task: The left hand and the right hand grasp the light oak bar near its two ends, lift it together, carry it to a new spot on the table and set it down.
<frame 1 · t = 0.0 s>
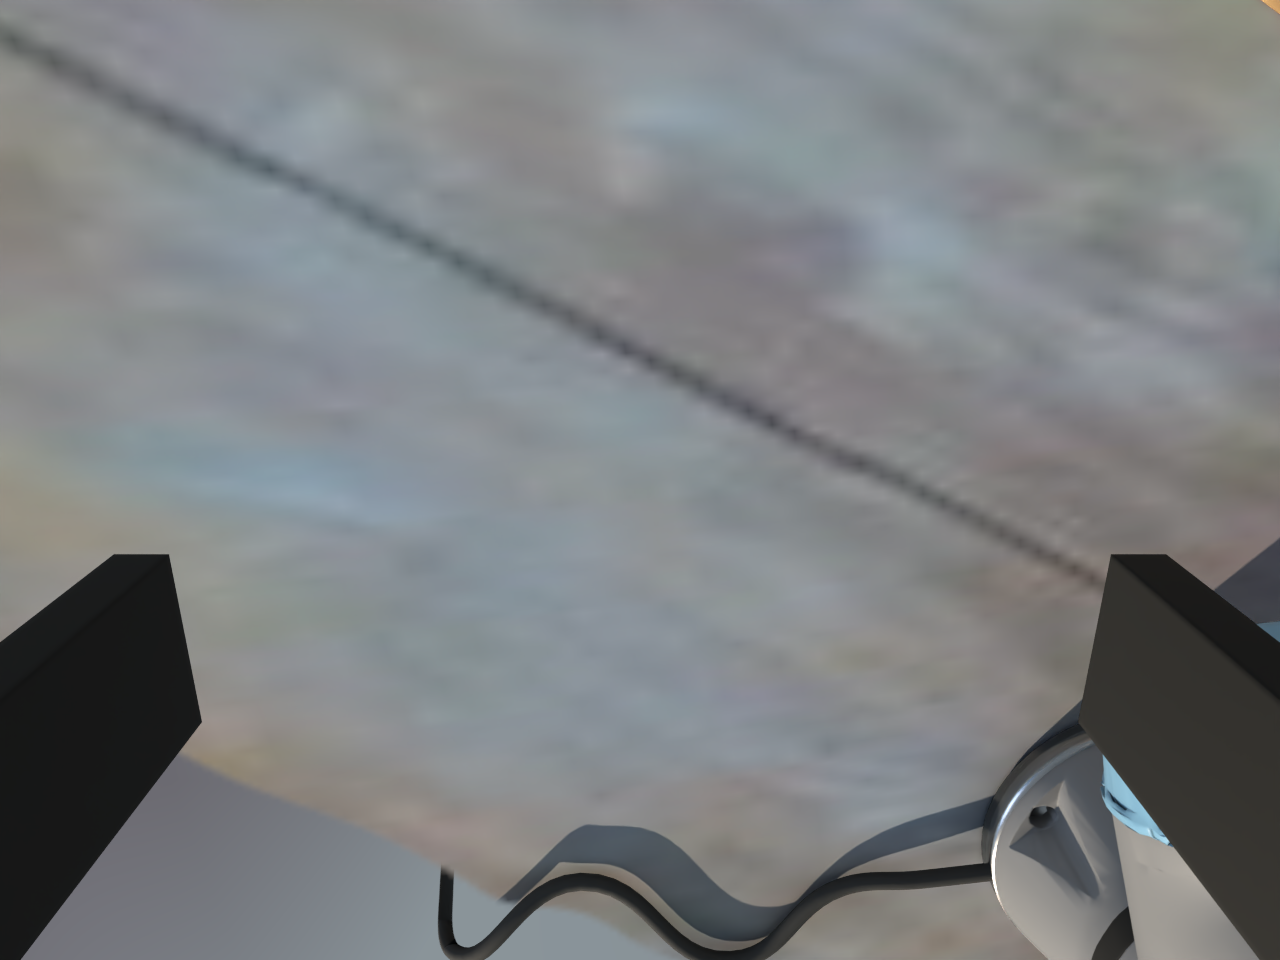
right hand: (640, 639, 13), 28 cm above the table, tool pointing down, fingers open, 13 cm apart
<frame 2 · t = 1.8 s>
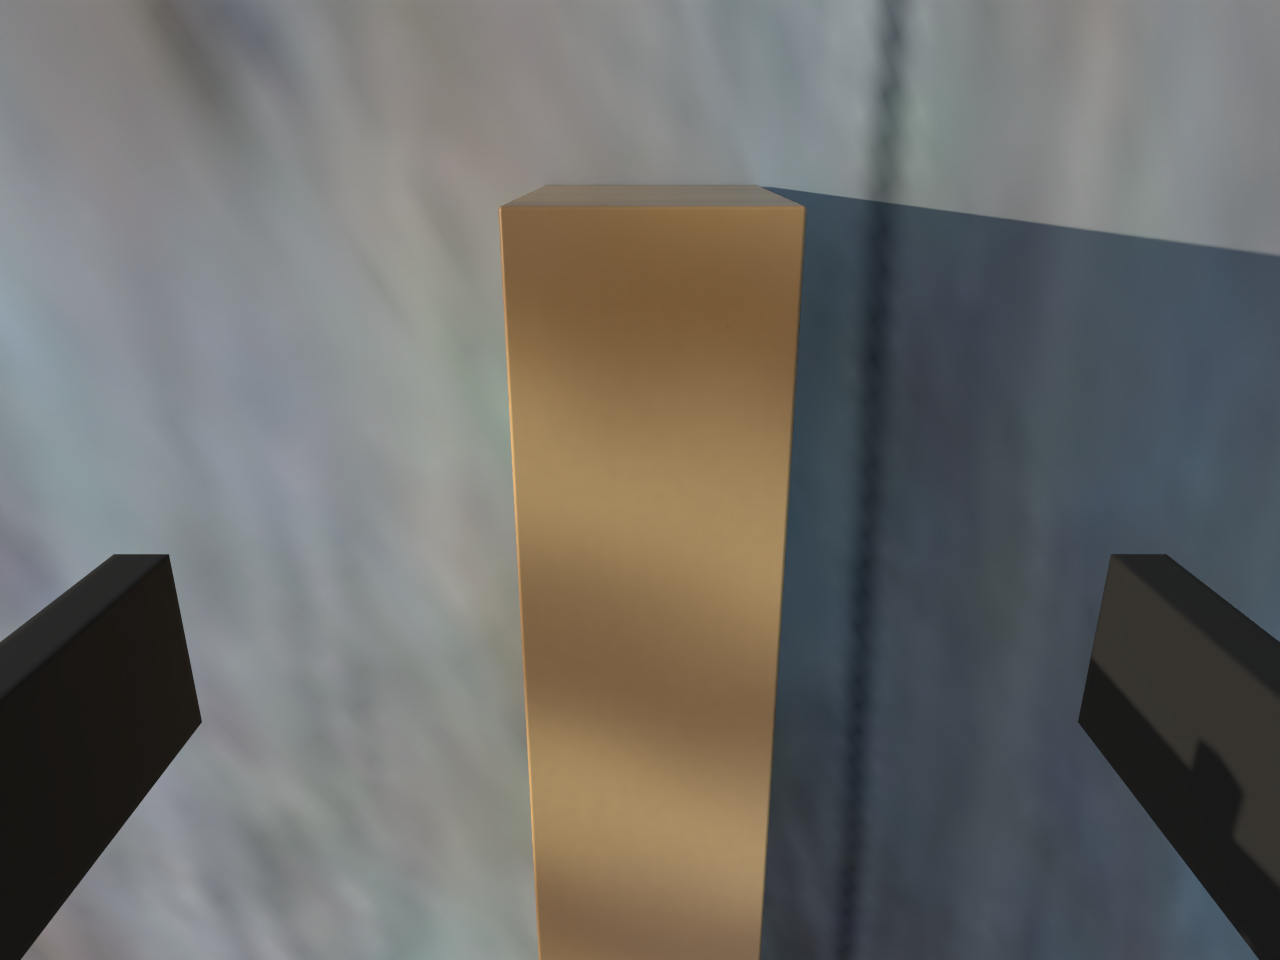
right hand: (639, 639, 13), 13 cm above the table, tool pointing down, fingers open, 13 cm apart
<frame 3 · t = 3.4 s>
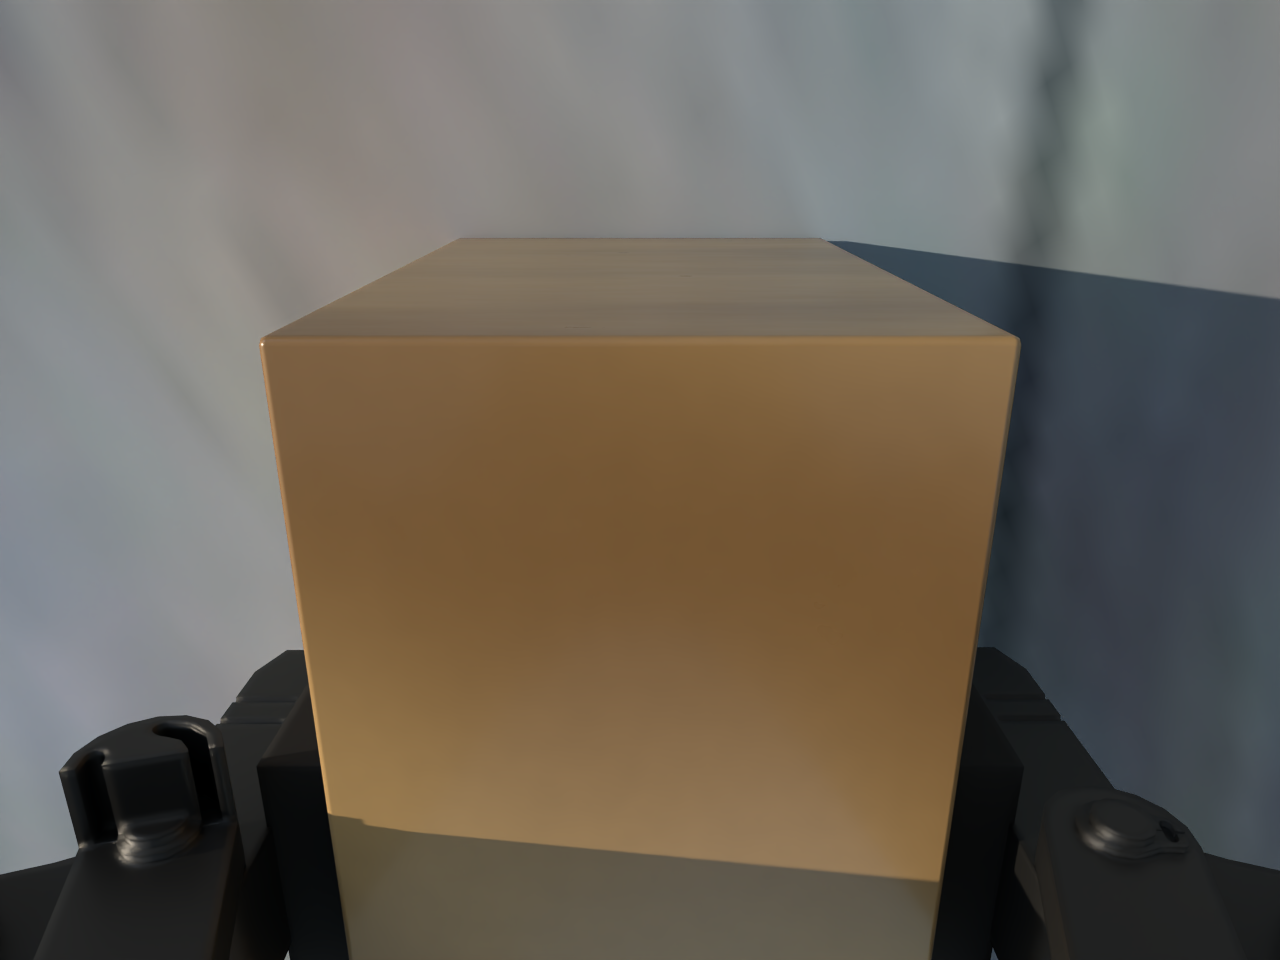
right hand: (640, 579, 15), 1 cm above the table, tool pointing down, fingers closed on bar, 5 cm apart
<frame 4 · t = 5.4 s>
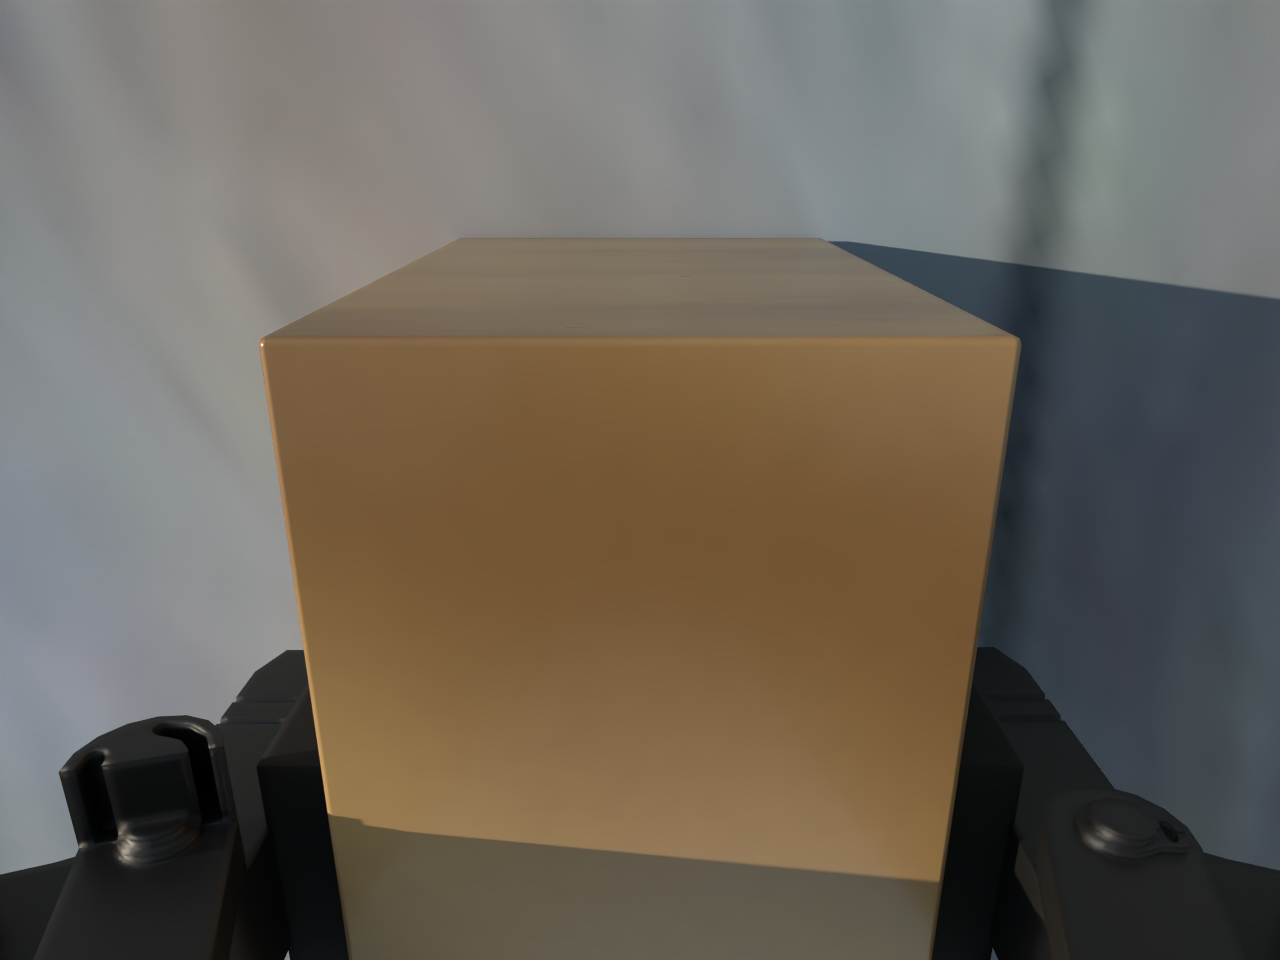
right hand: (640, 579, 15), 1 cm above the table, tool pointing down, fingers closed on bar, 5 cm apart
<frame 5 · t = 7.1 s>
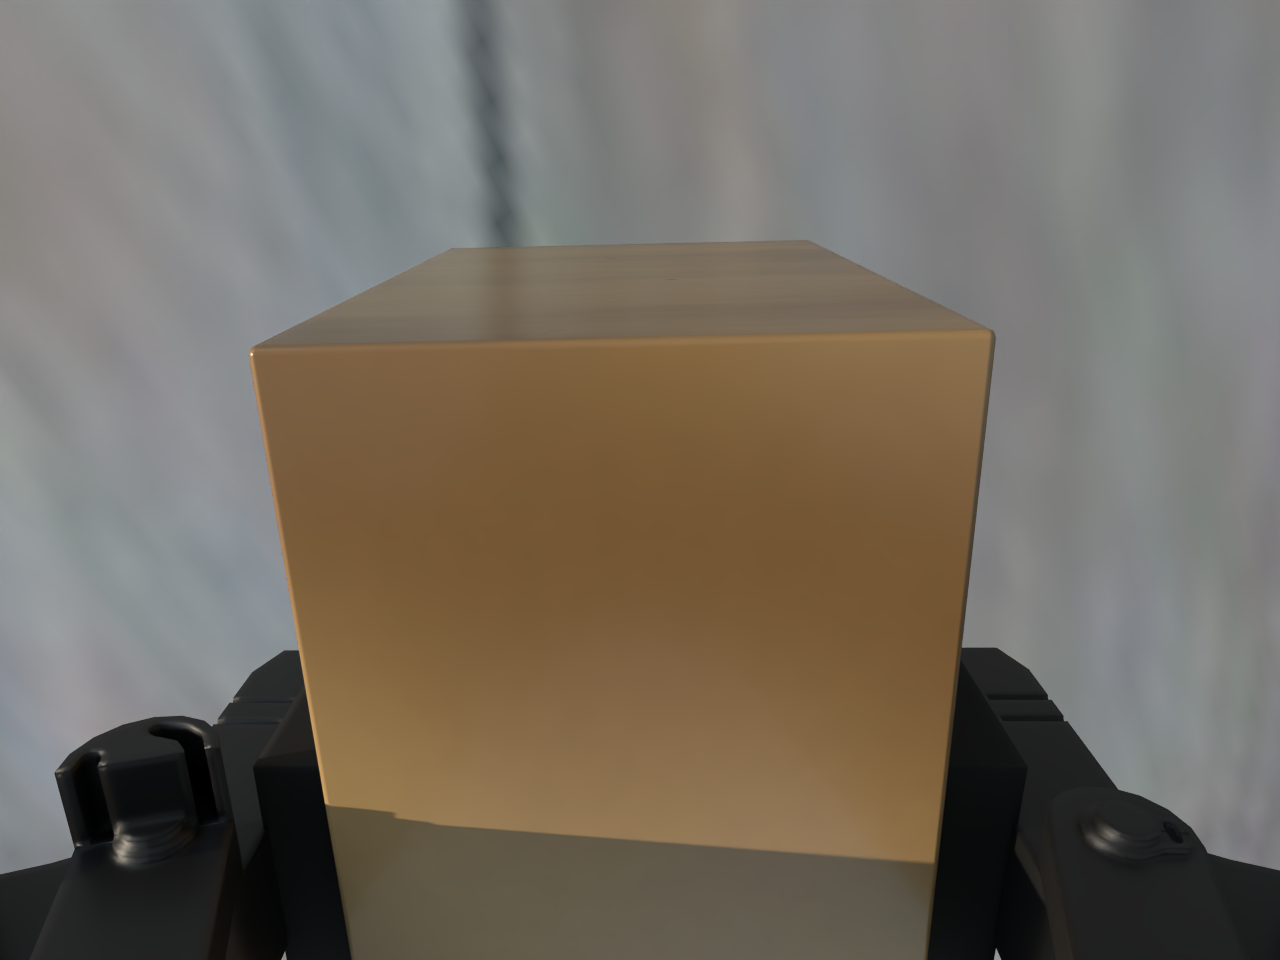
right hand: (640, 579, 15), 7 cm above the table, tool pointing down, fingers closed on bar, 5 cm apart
when the left hand's fingers open (2 cm above the table, at t = 9.0 s): bar stays where it is, on the table.
when the right hand's fingers open (2 cm above the table, at t = 9.1 s): bar stays where it is, on the table.
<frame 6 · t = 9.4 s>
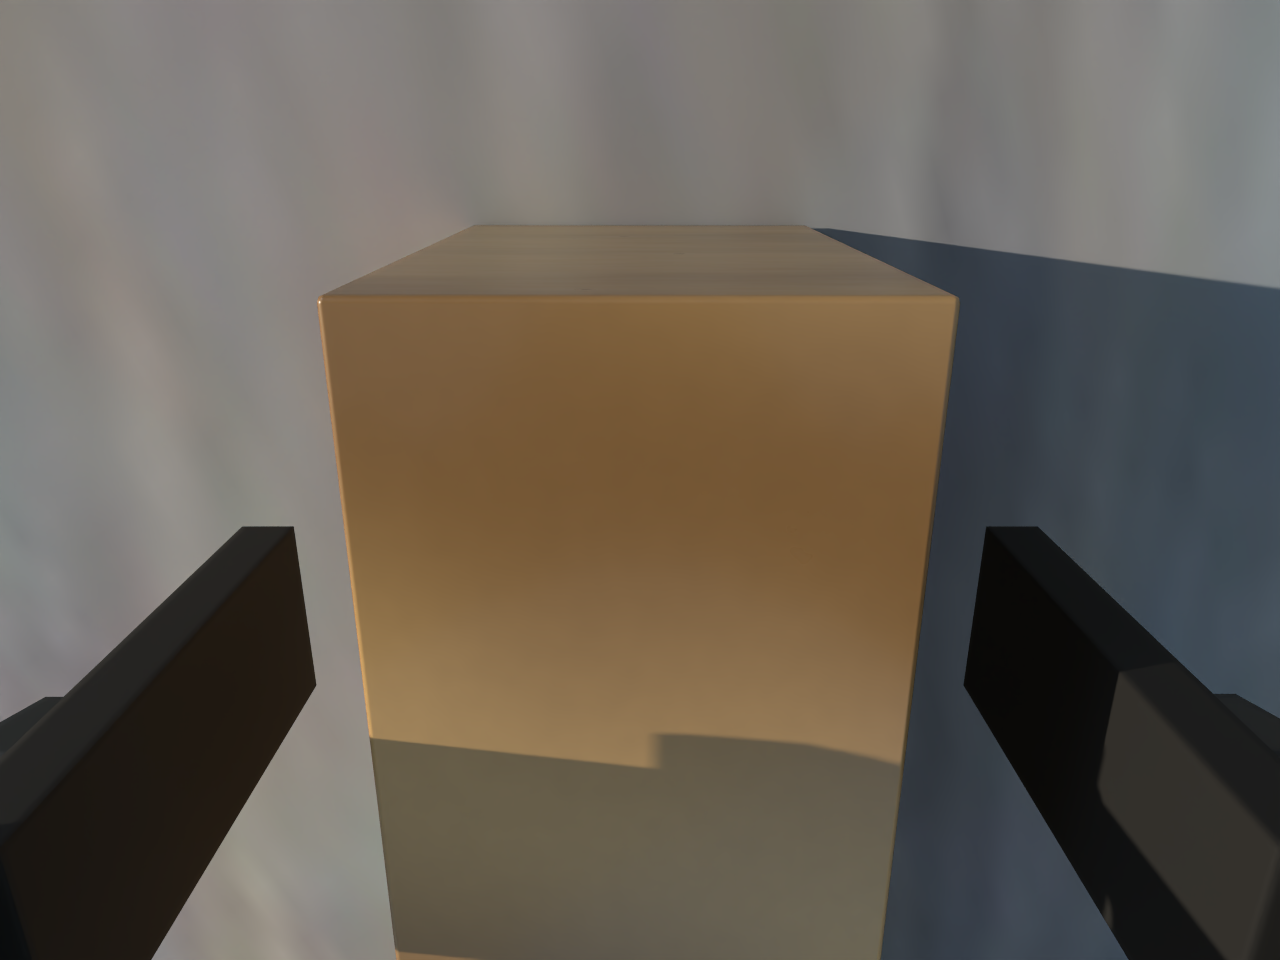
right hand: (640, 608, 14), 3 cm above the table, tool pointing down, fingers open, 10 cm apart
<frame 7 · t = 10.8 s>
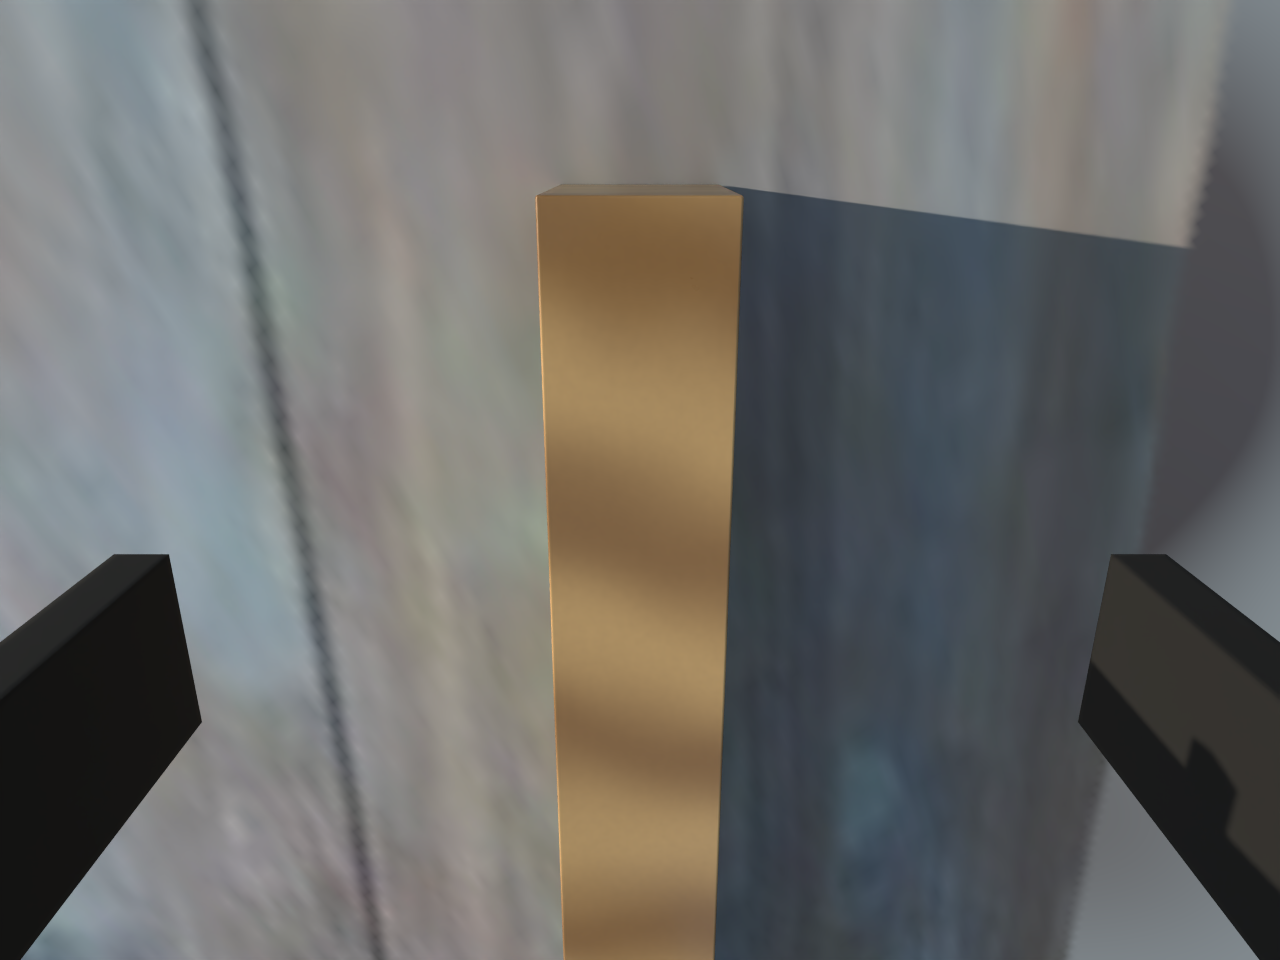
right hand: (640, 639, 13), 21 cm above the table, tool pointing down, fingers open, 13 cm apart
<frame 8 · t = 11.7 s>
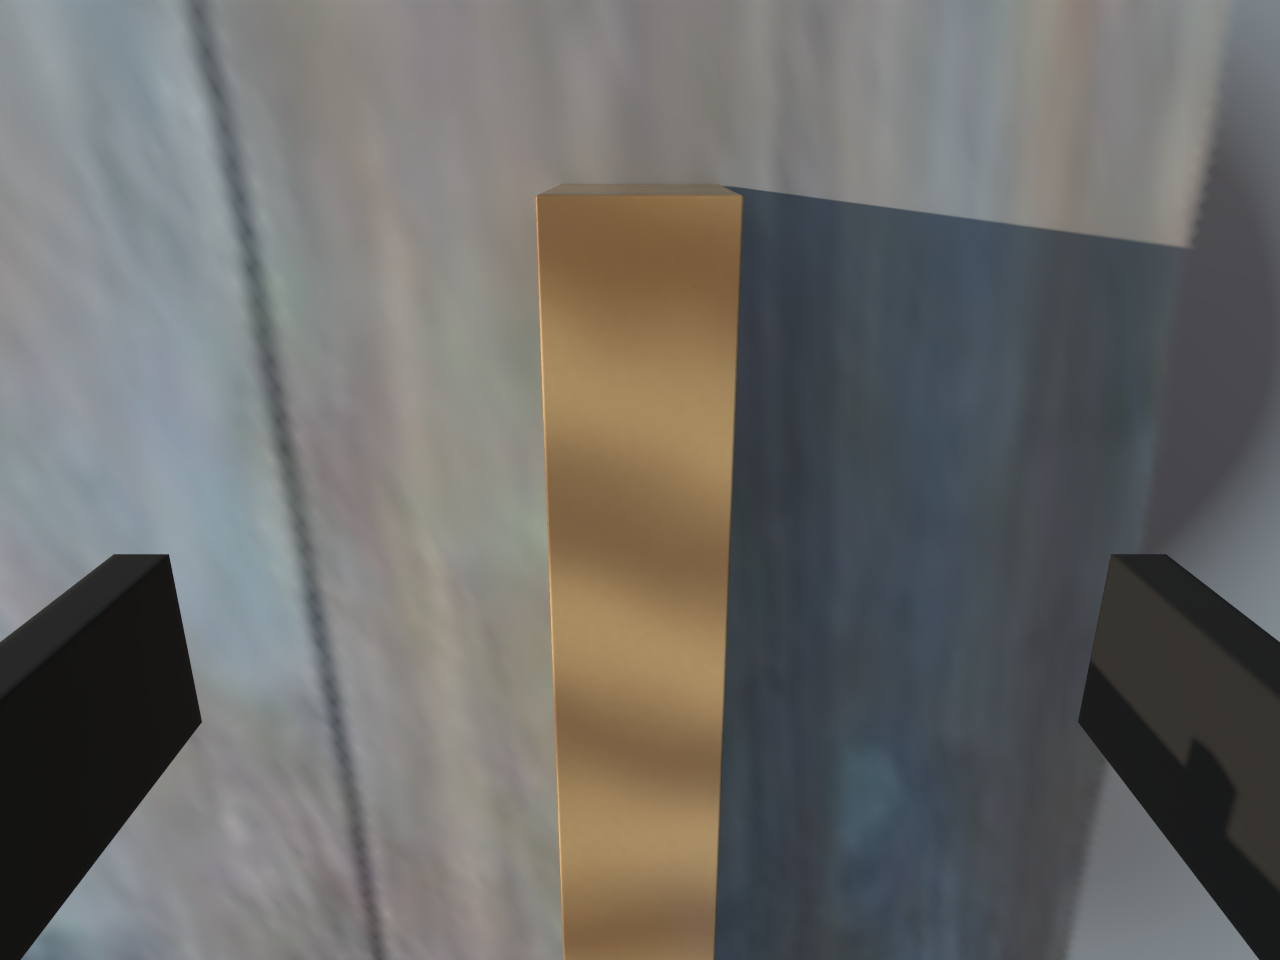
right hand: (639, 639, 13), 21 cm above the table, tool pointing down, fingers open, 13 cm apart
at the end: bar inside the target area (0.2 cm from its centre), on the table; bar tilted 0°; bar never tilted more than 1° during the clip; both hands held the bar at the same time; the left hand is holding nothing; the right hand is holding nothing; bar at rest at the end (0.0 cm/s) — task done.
